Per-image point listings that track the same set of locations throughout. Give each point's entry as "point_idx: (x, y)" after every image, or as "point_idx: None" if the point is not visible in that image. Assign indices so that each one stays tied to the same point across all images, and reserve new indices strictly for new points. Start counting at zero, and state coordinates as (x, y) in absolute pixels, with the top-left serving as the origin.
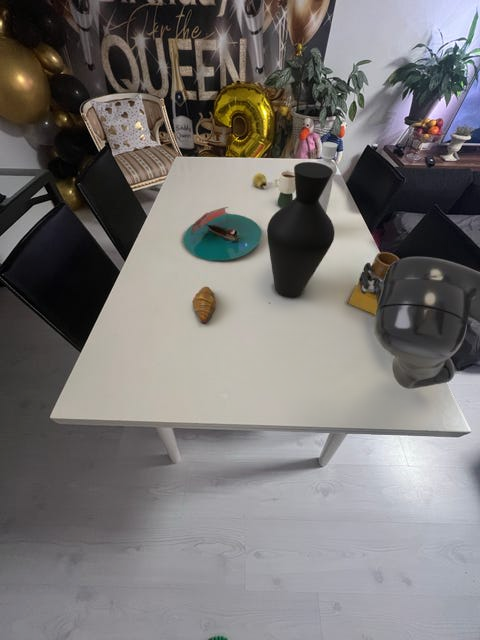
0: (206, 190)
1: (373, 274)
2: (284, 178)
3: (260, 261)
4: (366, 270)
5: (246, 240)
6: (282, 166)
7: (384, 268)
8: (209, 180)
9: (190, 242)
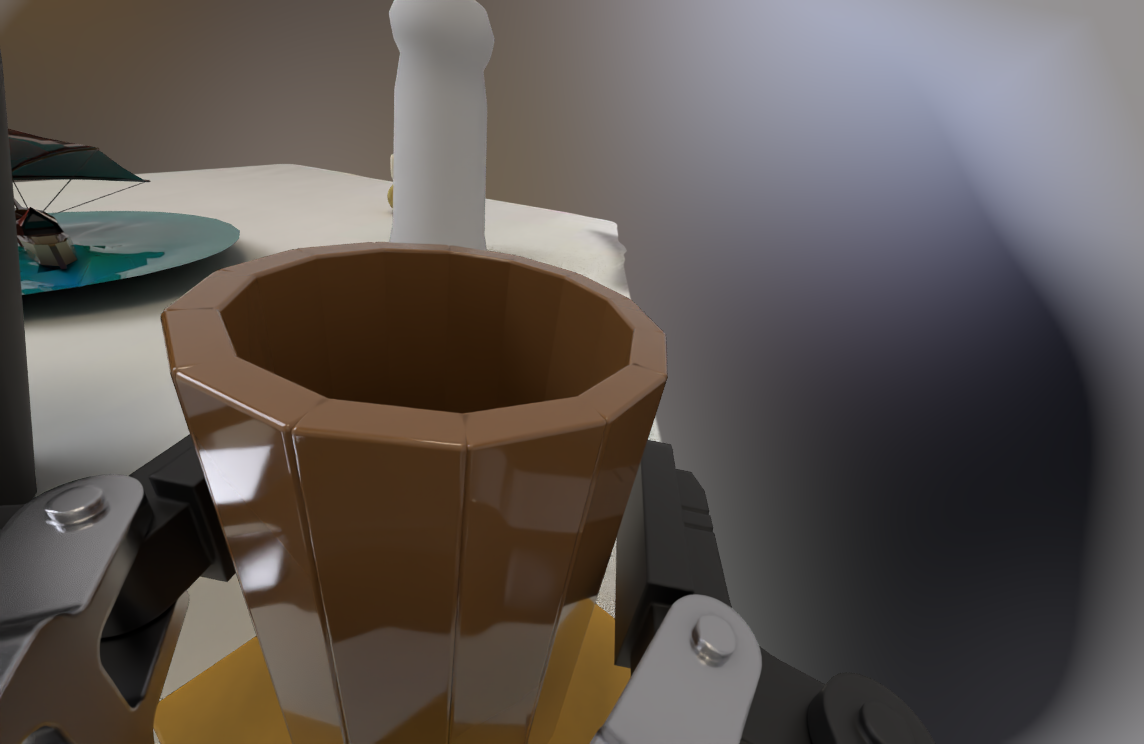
0: (250, 194)
1: (29, 584)
2: None
3: (42, 348)
4: (152, 467)
5: (98, 267)
6: (504, 208)
7: (212, 474)
8: (292, 188)
9: None
